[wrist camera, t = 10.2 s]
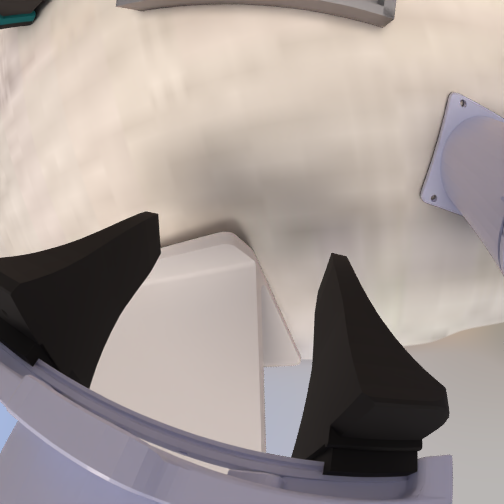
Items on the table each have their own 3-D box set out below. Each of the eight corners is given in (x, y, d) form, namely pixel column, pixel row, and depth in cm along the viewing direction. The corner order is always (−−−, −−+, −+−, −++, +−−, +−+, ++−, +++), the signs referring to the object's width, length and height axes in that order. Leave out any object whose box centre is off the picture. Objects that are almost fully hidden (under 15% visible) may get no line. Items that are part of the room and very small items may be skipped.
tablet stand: (303, 358, 30) (274, 508, 17) (141, 360, 40) (93, 452, 26) (237, 213, 22) (119, 432, 8) (67, 267, 32) (-14, 363, 18)
